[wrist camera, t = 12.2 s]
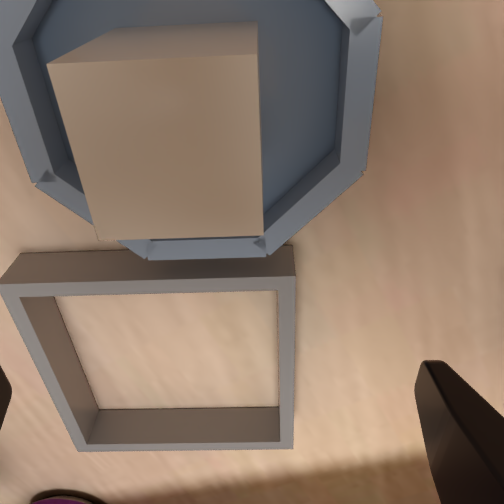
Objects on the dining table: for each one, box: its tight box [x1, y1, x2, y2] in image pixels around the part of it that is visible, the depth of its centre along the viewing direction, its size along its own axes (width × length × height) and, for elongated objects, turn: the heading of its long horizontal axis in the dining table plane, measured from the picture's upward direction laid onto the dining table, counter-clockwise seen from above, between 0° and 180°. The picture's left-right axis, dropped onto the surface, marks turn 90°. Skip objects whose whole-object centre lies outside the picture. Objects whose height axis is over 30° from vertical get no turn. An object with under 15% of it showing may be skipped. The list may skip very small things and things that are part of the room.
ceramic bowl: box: [0, 0, 383, 260], centre depth 16 cm, size 13×13×2 cm
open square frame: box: [0, 245, 296, 452], centre depth 25 cm, size 14×14×2 cm
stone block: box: [46, 21, 264, 241], centre depth 14 cm, size 5×5×6 cm
